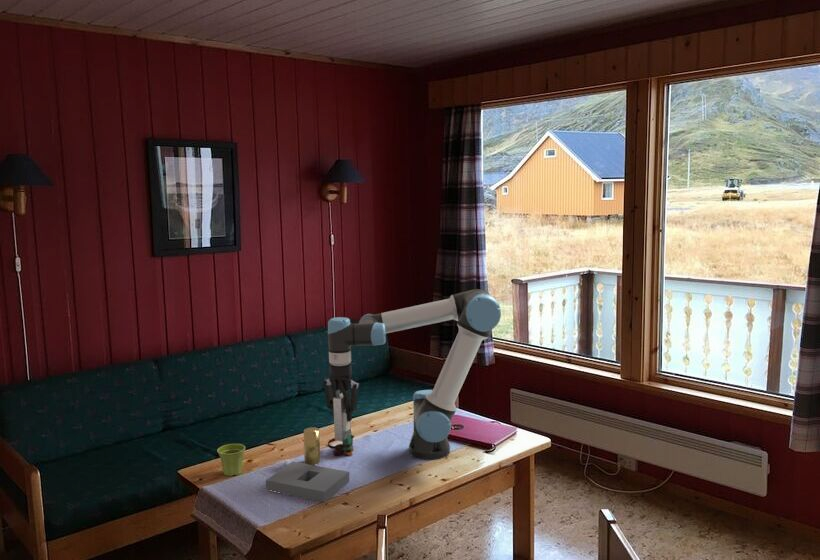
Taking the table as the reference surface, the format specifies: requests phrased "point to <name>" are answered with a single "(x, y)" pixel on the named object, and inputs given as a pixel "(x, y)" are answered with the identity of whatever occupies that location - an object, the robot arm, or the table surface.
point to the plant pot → (231, 458)
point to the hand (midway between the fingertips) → (342, 429)
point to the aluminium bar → (340, 418)
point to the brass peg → (311, 446)
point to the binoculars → (343, 446)
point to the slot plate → (318, 486)
